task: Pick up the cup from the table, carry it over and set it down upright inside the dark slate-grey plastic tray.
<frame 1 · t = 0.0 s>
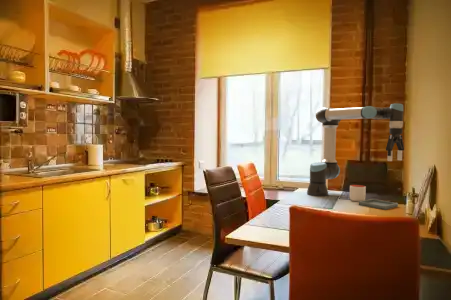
hand: (394, 160, 213), 28 cm above the table, fingers open, 13 cm apart
tray: (378, 205, 206), on the table
cup: (357, 200, 223), on the table
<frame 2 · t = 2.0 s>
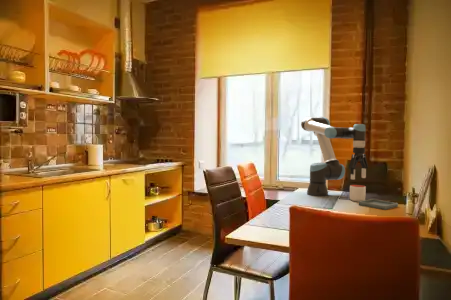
hand: (358, 178, 222), 15 cm above the table, fingers open, 13 cm apart
nothing on the table moved.
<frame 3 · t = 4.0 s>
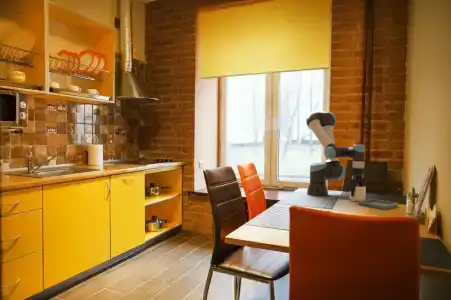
hand: (357, 200, 223), 0 cm above the table, fingers closed on cup, 10 cm apart
cup: (357, 200, 223), on the table, touching gripper
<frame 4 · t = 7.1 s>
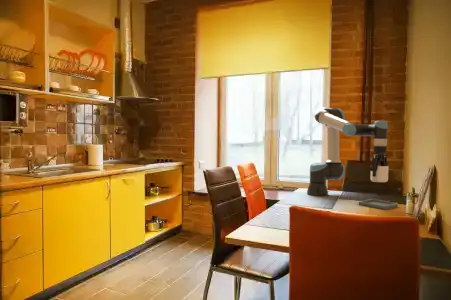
hand: (379, 181, 206), 16 cm above the table, fingers closed on cup, 10 cm apart
cup: (379, 181, 206), point 15 cm above the table, touching gripper
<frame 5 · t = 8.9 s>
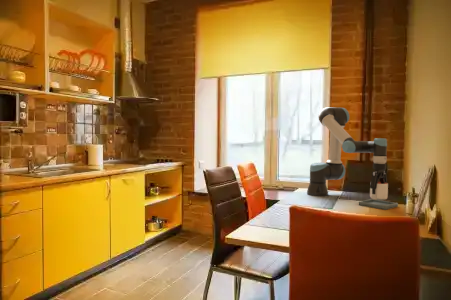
hand: (378, 198, 206), 5 cm above the table, fingers closed on cup, 10 cm apart
cup: (378, 199, 206), point 4 cm above the table, touching gripper
when the fingers open (3 cm above the table, at t = 10.2 s): cup drops 2 cm, resting on tray.
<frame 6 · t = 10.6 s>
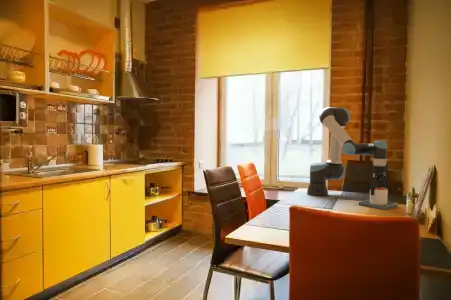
hand: (378, 199, 206), 4 cm above the table, fingers open, 13 cm apart
cup: (378, 204, 206), point 1 cm above the table, touching tray
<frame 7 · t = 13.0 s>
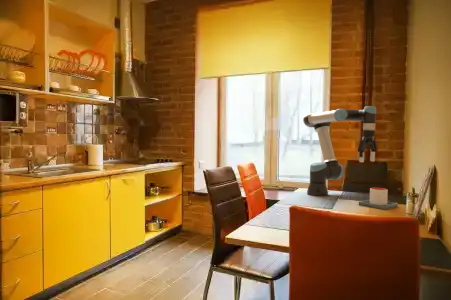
hand: (367, 161, 219), 27 cm above the table, fingers open, 13 cm apart
nothing on the table moved.
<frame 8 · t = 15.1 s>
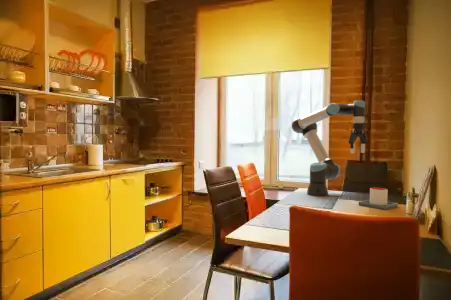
hand: (357, 153, 232), 32 cm above the table, fingers open, 13 cm apart
nothing on the table moved.
at the end: cup inside the target area on the tray (0.1 cm from its centre), point 0.6 cm above the tray's base; cup tilted 0°; the gripper is holding nothing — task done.
